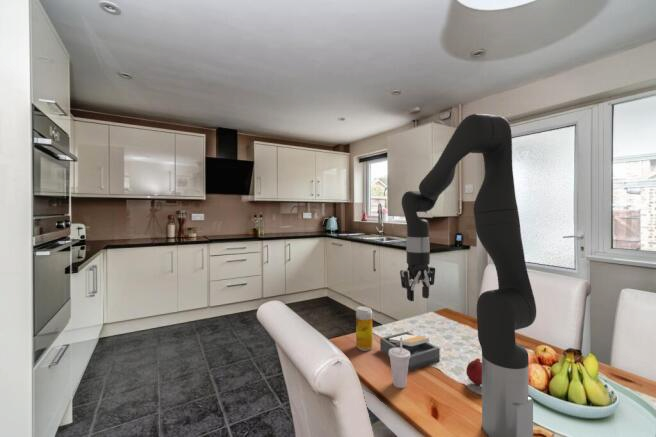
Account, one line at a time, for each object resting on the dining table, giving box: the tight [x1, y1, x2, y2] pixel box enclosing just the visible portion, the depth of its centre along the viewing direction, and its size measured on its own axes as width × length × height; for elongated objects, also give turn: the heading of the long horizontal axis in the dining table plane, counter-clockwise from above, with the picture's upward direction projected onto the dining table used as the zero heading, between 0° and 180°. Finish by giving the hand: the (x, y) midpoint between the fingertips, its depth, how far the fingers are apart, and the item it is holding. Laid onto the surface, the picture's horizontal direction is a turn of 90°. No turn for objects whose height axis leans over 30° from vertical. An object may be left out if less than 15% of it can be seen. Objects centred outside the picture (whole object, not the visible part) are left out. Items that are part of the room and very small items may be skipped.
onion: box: [465, 357, 482, 386], centre depth 86 cm, size 6×6×8 cm
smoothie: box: [387, 338, 410, 389], centre depth 86 cm, size 6×6×14 cm
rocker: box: [389, 334, 430, 347], centre depth 104 cm, size 12×10×2 cm
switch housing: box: [379, 331, 441, 372], centre depth 104 cm, size 16×13×4 cm
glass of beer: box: [355, 305, 374, 352], centre depth 110 cm, size 6×6×15 cm
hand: (418, 299), depth 99 cm, fingers open, 6 cm apart
